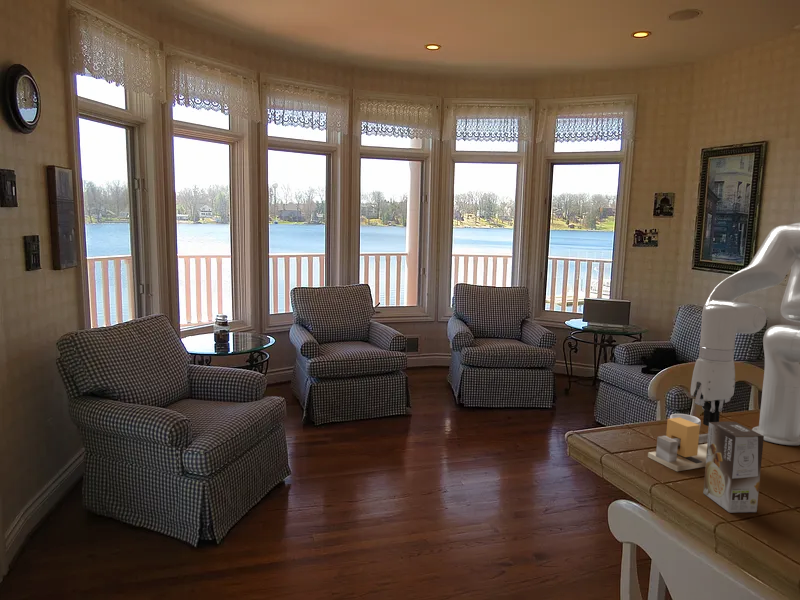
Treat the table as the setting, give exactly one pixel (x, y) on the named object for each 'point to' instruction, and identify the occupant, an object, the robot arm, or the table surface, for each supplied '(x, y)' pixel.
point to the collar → (684, 435)
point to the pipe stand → (671, 459)
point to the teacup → (687, 418)
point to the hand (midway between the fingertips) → (710, 425)
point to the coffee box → (733, 466)
